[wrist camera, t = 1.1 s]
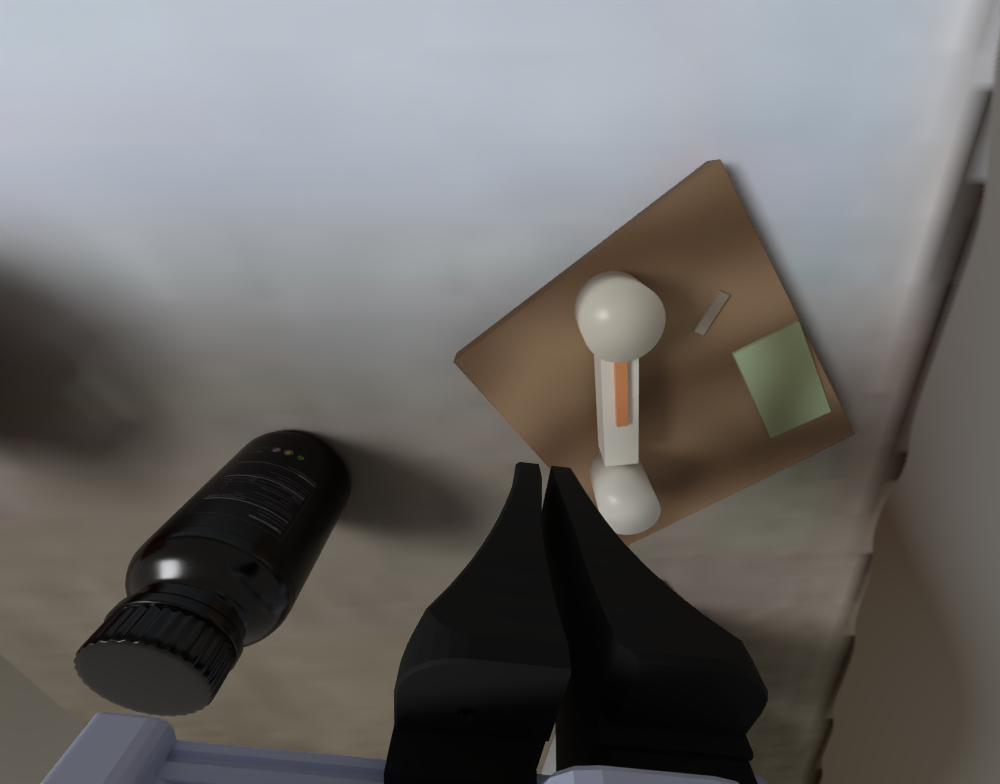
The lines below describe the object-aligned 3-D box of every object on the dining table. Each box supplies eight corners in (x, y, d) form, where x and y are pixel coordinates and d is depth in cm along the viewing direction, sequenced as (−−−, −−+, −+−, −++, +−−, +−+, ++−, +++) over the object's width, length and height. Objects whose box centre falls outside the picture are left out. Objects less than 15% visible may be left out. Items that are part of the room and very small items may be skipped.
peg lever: (644, 485, 23) (664, 531, 20) (586, 491, 23) (597, 537, 20) (646, 265, 17) (674, 282, 14) (571, 276, 18) (582, 295, 15)
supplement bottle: (344, 526, 27) (233, 747, 16) (240, 497, 26) (51, 710, 16) (364, 446, 24) (245, 653, 13) (247, 410, 23) (20, 601, 13)
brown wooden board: (838, 421, 22) (857, 435, 21) (617, 533, 27) (622, 550, 25) (707, 161, 17) (722, 159, 16) (456, 353, 21) (453, 363, 20)
